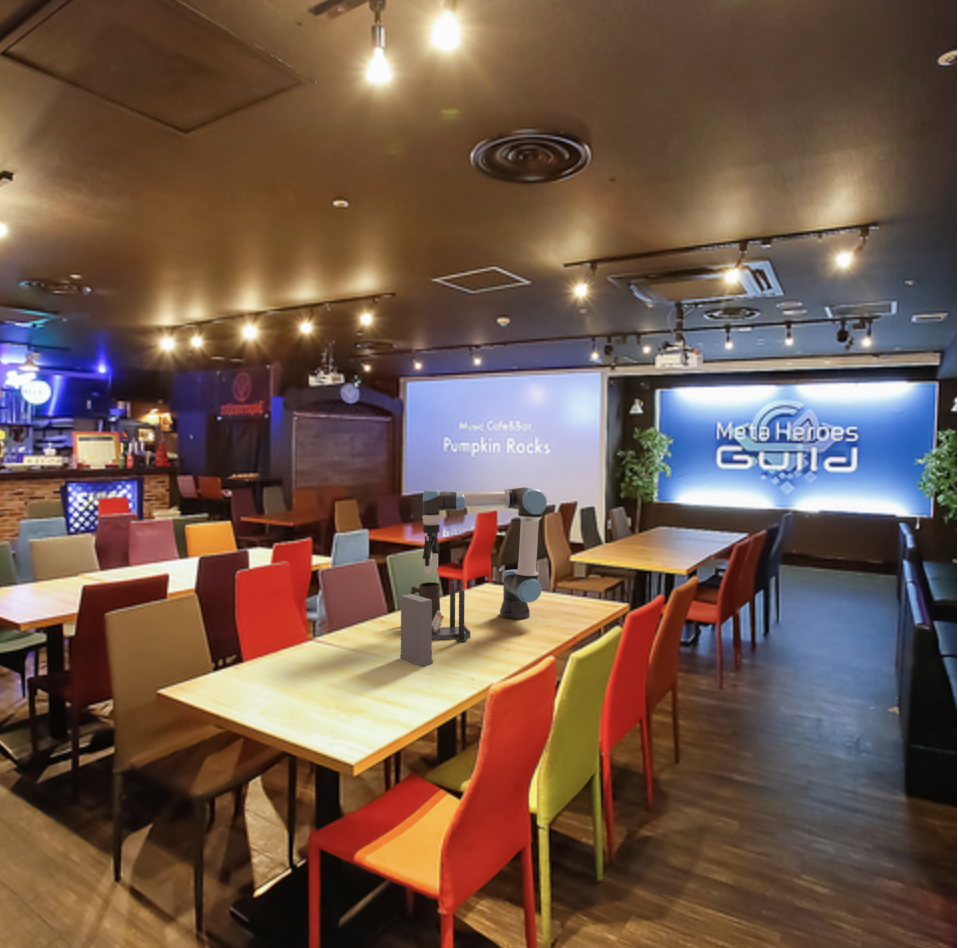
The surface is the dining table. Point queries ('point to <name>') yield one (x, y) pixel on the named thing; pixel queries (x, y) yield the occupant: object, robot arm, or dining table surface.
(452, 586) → the cable post far
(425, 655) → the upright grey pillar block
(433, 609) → the beer stein
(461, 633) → the disc
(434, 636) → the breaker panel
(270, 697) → the dining table surface
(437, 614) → the breaker paddle
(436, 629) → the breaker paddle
